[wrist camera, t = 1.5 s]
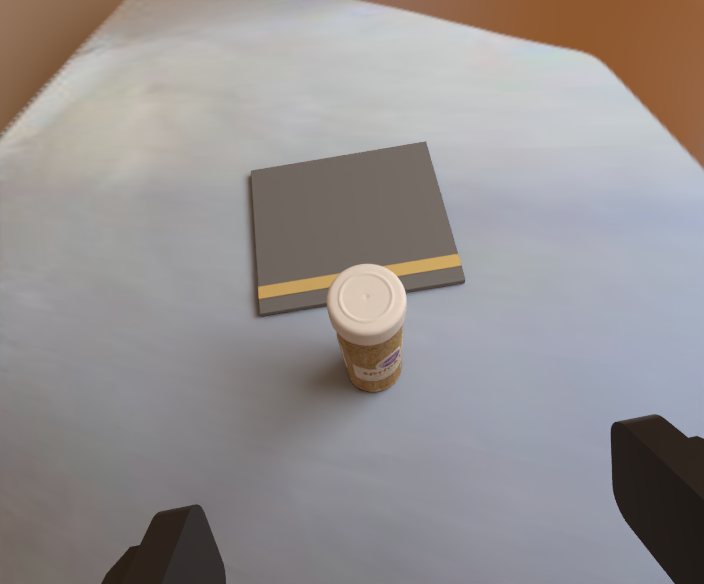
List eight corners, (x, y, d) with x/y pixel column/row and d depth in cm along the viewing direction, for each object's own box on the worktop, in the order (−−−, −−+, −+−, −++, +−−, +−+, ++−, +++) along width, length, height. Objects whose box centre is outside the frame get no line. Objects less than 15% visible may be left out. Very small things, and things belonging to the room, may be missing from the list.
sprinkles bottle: (381, 404, 36) (376, 350, 24) (335, 372, 38) (308, 306, 26) (412, 358, 38) (422, 285, 26) (367, 329, 39) (356, 247, 27)
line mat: (261, 316, 41) (259, 313, 40) (252, 174, 48) (250, 170, 47) (464, 283, 40) (465, 279, 40) (425, 145, 47) (425, 140, 47)
